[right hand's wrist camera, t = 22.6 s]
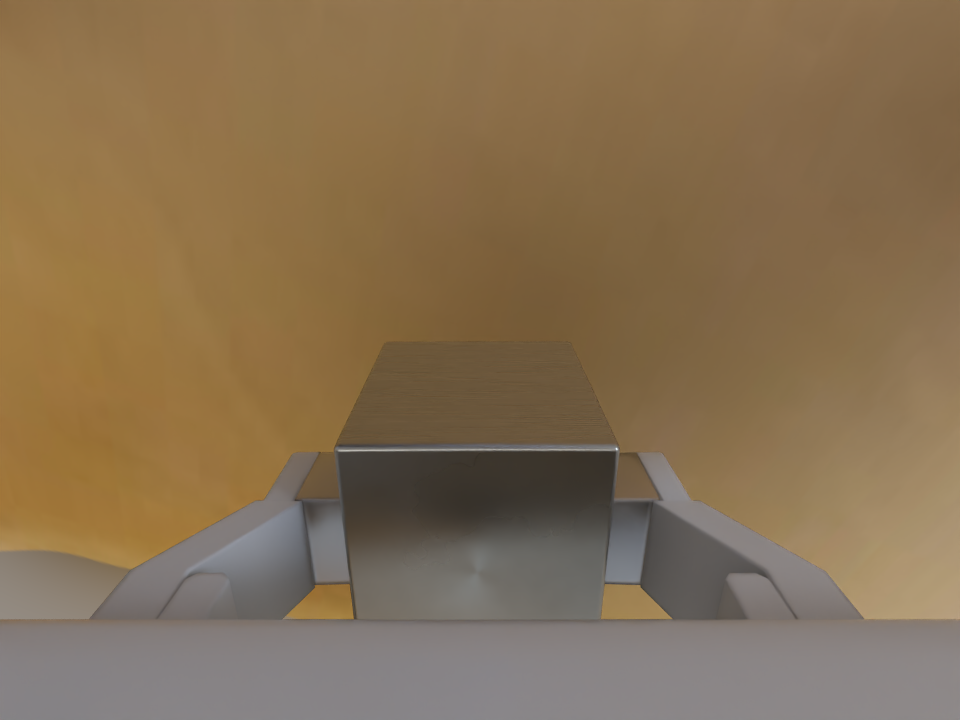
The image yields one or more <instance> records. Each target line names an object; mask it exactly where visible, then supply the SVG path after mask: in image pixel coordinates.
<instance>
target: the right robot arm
mask: <svg viewBox="0 0 960 720" xmlns="http://www.w3.org/2000/svg"><path fill="white" fill-rule="evenodd" d="M329 584H350V581H349V572H348V564H347V556H346V547H345V539H344V530H343V522H342V514H341V505H340V497H339V489H338V480H337V472H336V464H335V455H334V452H322V453H321V452H296V453H293V454H292V455H291V457H290V459H289V460H288V462H287V463H286V465H285V467H284V468H283V470H282V471H281V473H280V475H279V476H278V478H277V479H276V481H275V483H274V484H273V486H272V488H271V489H270V491H269V492H268V494H267V496H266V497H265V499H264V500H263V501H254V502H252V503H250V504H249V505H247V506H245V507H243V508H241V509H240V510H238V511H236V512H234V513H232V514H231V515H229V516H227V517H225V518H223V519H222V520H220V521H218V522H216V523H214V524H213V525H211V526H209V527H207V528H205V529H204V530H202V531H200V532H198V533H196V534H195V535H193V536H191V537H189V538H187V539H186V540H184V541H182V542H180V543H178V544H177V545H175V546H173V547H171V548H169V549H168V550H166V551H164V552H162V553H160V554H159V555H157V556H155V557H153V558H151V559H150V560H148V561H146V562H144V563H142V564H141V565H139V566H137V567H135V568H133V569H132V570H130V571H129V572H128V573H127V574H126V575H125V577H124V578H123V579H122V580H121V581H120V583H119V584H118V585H117V586H116V587H115V589H114V590H113V591H112V592H111V593H110V595H109V596H108V597H107V598H106V599H105V601H104V602H103V603H102V604H101V605H100V607H99V608H98V609H97V610H96V611H95V613H94V614H93V615H92V616H91V617H90V619H88V620H86V619H85V620H84V619H83V620H82V619H81V620H0V720H960V619H864V618H863V617H862V616H861V614H860V613H859V612H858V611H857V609H856V608H855V607H854V606H853V605H852V603H851V602H850V601H849V600H848V598H847V597H846V596H845V595H844V593H843V592H842V591H841V590H840V589H839V587H838V586H837V585H836V584H835V582H834V581H833V580H832V579H831V577H830V576H829V575H828V574H827V573H826V571H824V570H822V569H820V568H818V567H817V566H815V565H813V564H811V563H810V562H808V561H806V560H804V559H802V558H801V557H799V556H797V555H795V554H794V553H792V552H790V551H788V550H786V549H785V548H783V547H781V546H779V545H778V544H776V543H774V542H772V541H770V540H769V539H767V538H765V537H763V536H762V535H760V534H758V533H756V532H754V531H753V530H751V529H749V528H747V527H746V526H744V525H742V524H740V523H738V522H737V521H735V520H733V519H731V518H730V517H728V516H726V515H724V514H722V513H721V512H719V511H717V510H715V509H714V508H712V507H710V506H708V505H706V504H705V503H703V502H701V501H692V500H691V499H690V497H689V495H688V494H687V492H686V490H685V489H684V487H683V486H682V484H681V482H680V481H679V479H678V477H677V476H676V474H675V472H674V471H673V469H672V468H671V466H670V464H669V463H668V461H667V459H666V458H665V456H664V455H663V453H661V452H635V453H619V461H618V470H617V478H616V487H615V496H614V505H613V514H612V523H611V532H610V541H609V549H608V558H607V567H606V576H605V584H626V585H641V588H642V589H643V590H644V591H645V592H646V593H647V594H648V595H649V596H650V597H651V598H652V599H653V600H654V601H655V602H656V603H657V604H658V605H659V606H660V607H661V608H662V609H663V610H664V611H665V612H666V613H667V614H668V615H670V616H671V617H672V618H673V619H283V618H284V617H285V616H286V615H287V614H288V613H289V612H290V611H291V610H292V609H293V608H294V607H295V606H296V605H297V604H298V603H299V602H300V601H301V600H302V599H303V598H305V597H306V596H307V595H308V594H309V593H310V592H311V591H312V590H313V589H314V588H315V585H329Z"/></svg>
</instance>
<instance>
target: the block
mask: <svg viewBox="0 0 960 720" xmlns="http://www.w3.org/2000/svg"><path fill="white" fill-rule="evenodd" d="M619 452H620V448H619V445H618V443H617V441H616V439H615V436H614V434H613V432H612V430H611V428H610V426H609V424H608V421H607V419H606V417H605V415H604V413H603V411H602V409H601V407H600V404H599V402H598V400H597V398H596V396H595V394H594V392H593V389H592V387H591V385H590V383H589V381H588V379H587V377H586V375H585V372H584V370H583V368H582V366H581V364H580V362H579V360H578V358H577V355H576V353H575V351H574V349H573V347H572V345H571V343H570V342H386V343H384V345H383V347H382V349H381V351H380V353H379V356H378V358H377V360H376V362H375V364H374V366H373V368H372V370H371V372H370V374H369V376H368V378H367V380H366V382H365V385H364V387H363V389H362V391H361V393H360V395H359V397H358V399H357V401H356V403H355V405H354V407H353V409H352V411H351V413H350V416H349V418H348V420H347V422H346V424H345V426H344V428H343V430H342V432H341V434H340V436H339V438H338V440H337V442H336V444H335V447H334V455H335V464H336V472H337V480H338V489H339V497H340V505H341V514H342V522H343V530H344V539H345V547H346V556H347V564H348V572H349V581H350V589H351V597H352V606H353V614H354V619H601V611H602V603H603V594H604V585H605V576H606V567H607V558H608V549H609V541H610V532H611V523H612V514H613V505H614V496H615V487H616V478H617V470H618V461H619Z"/></svg>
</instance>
